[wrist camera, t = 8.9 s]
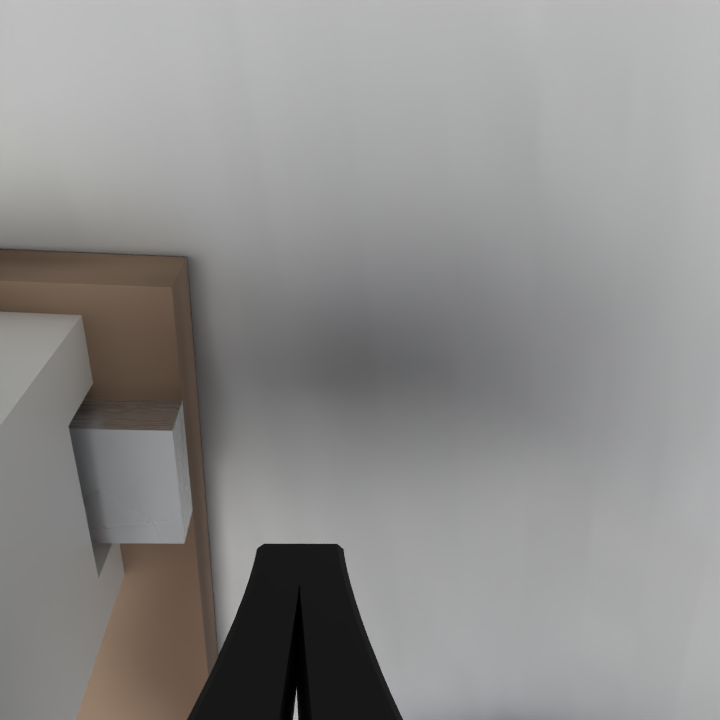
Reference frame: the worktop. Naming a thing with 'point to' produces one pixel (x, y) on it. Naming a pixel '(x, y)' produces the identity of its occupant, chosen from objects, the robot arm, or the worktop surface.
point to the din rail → (133, 470)
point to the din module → (47, 524)
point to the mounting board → (178, 383)
